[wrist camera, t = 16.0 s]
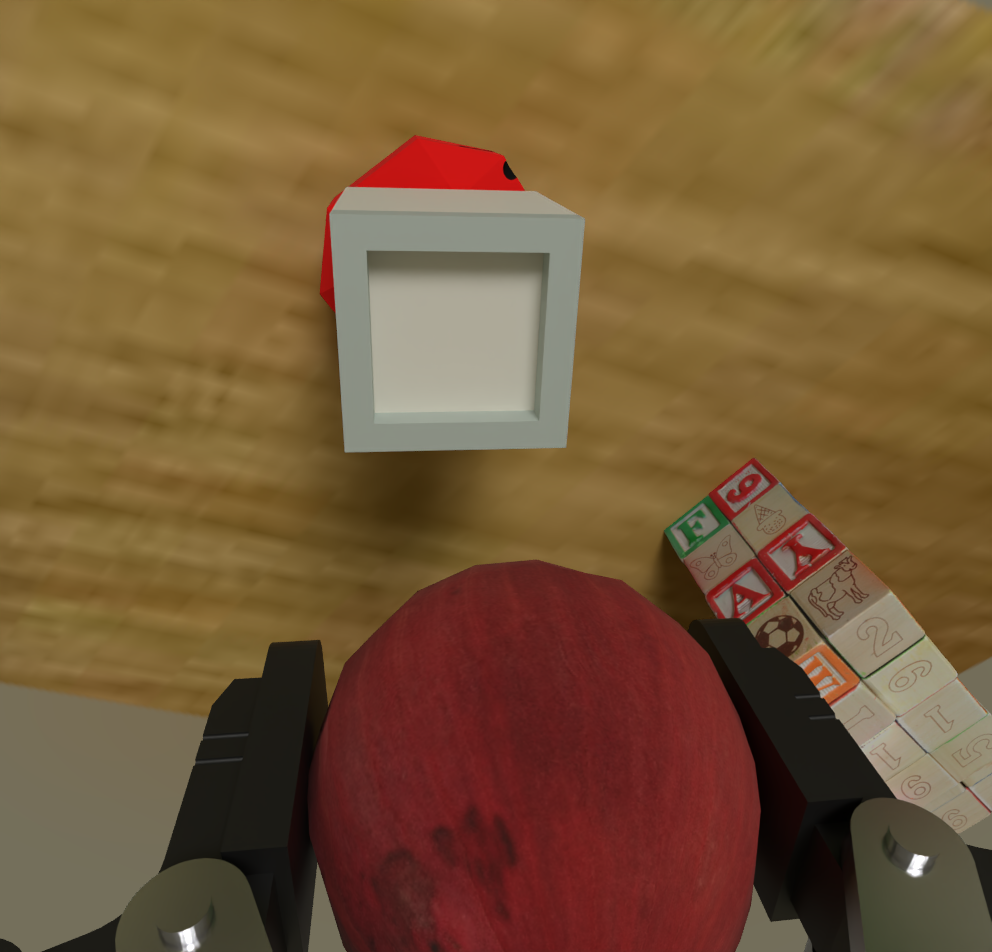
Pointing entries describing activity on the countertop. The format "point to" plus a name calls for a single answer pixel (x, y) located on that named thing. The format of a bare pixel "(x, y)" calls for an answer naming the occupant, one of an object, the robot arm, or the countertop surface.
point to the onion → (533, 775)
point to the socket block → (454, 318)
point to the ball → (425, 181)
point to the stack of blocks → (842, 640)
